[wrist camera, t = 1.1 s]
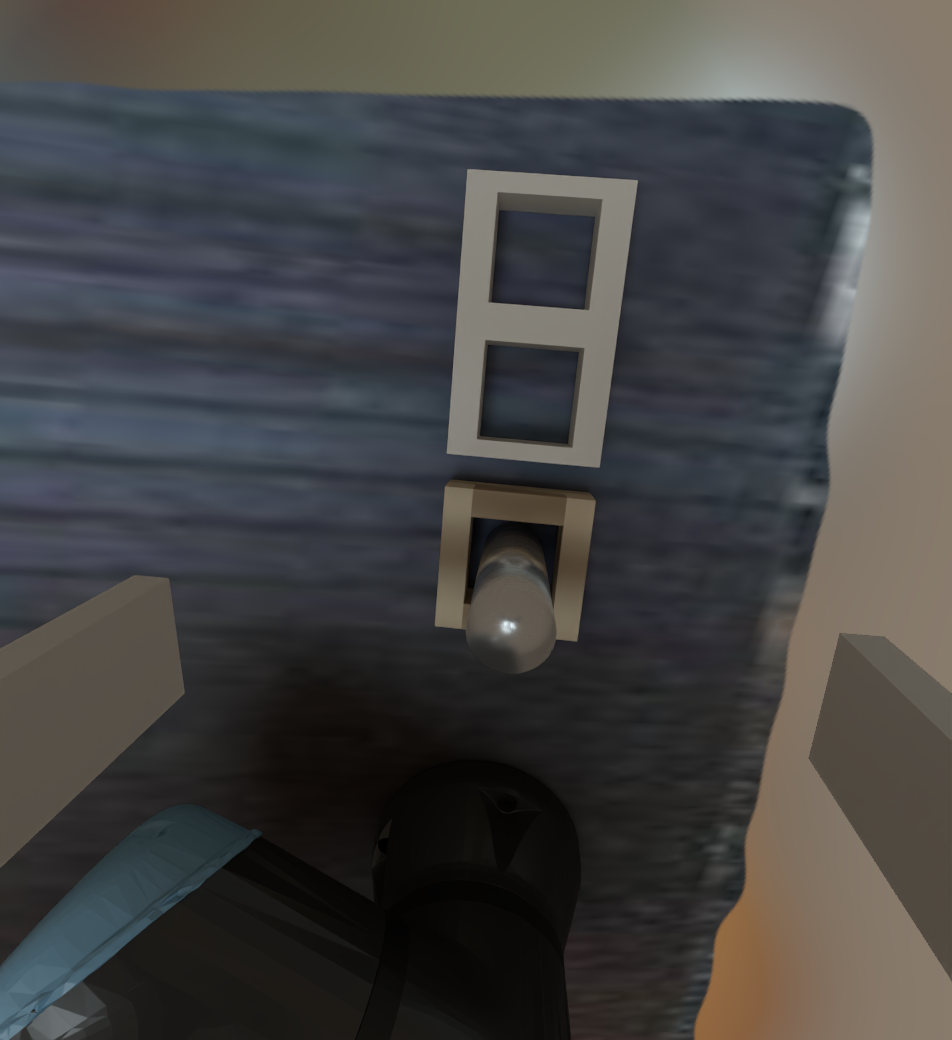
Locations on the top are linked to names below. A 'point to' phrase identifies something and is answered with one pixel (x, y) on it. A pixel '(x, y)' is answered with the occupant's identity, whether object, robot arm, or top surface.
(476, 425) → the rack
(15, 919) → the top surface
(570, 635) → the socket block
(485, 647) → the grey peg
